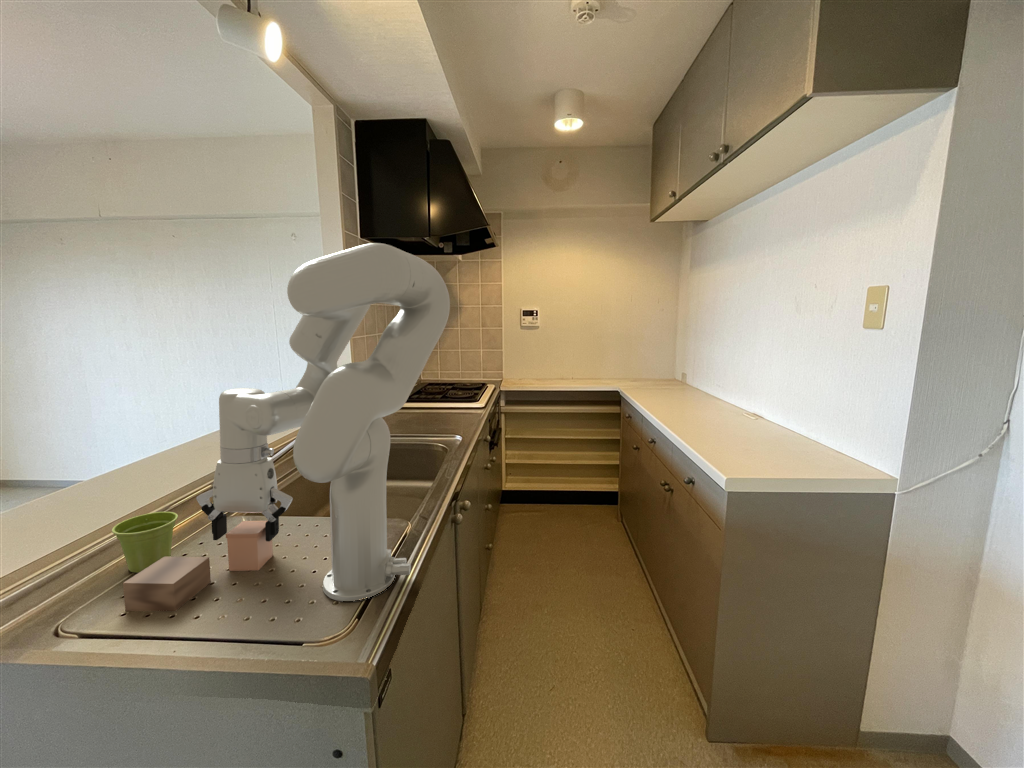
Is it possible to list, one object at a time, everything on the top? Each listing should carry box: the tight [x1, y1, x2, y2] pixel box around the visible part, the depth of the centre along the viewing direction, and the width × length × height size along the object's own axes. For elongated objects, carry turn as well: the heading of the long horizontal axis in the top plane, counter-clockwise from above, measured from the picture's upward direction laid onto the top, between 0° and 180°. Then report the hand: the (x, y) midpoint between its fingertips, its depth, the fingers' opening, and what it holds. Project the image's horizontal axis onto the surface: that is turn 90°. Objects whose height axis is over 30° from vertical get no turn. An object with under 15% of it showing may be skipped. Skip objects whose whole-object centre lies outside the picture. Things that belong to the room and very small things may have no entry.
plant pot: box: [111, 511, 179, 573], centre depth 79 cm, size 9×9×9 cm
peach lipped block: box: [225, 520, 274, 572], centre depth 80 cm, size 6×6×7 cm
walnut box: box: [122, 556, 212, 612], centre depth 70 cm, size 8×8×5 cm
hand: (246, 537), depth 80 cm, fingers open, 9 cm apart
